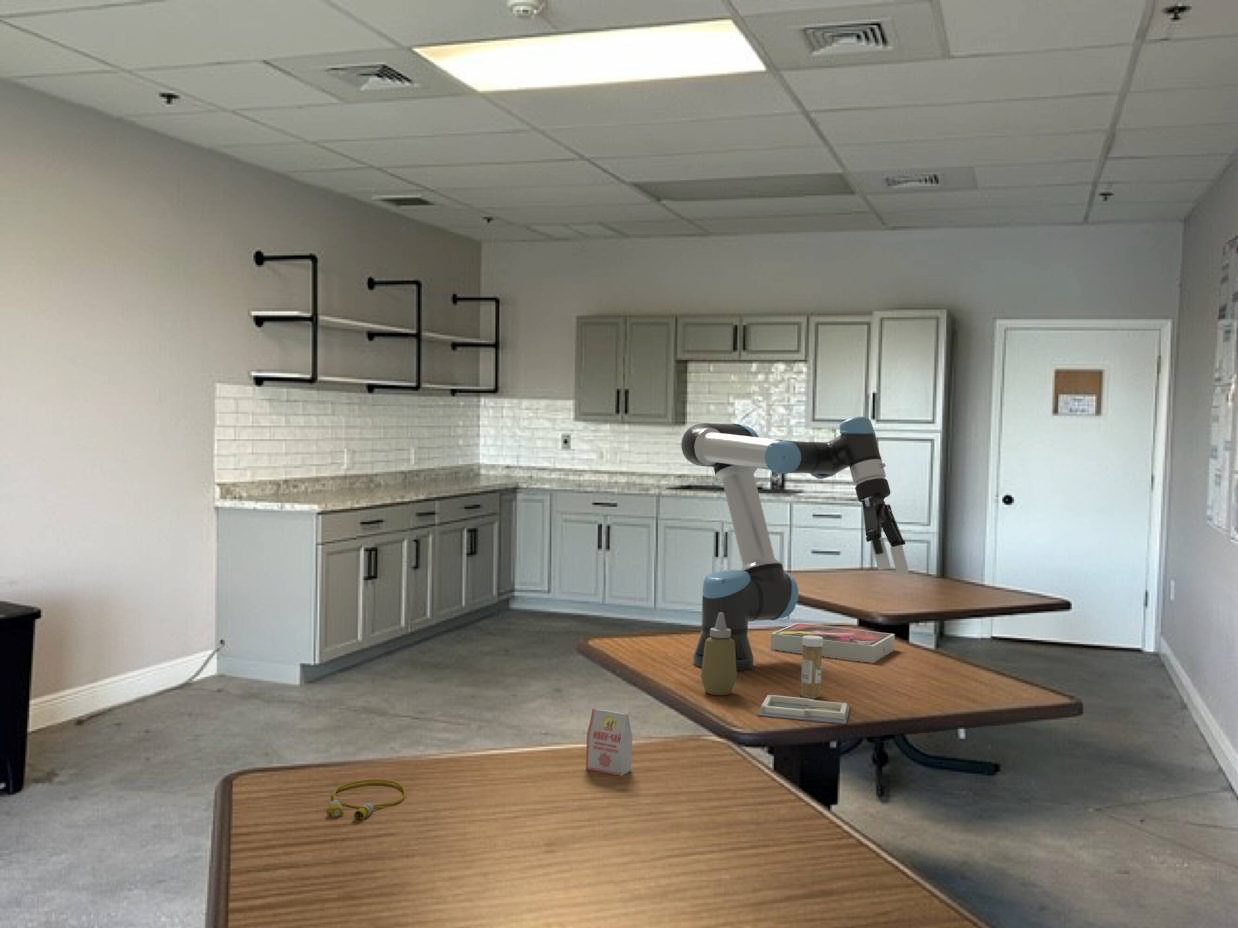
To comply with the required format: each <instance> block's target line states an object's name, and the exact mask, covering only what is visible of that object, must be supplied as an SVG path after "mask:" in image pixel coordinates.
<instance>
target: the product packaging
mask: <svg viewBox="0 0 1238 928" xmlns="http://www.w3.org/2000/svg"><path fill="white" fill-rule="evenodd" d="M808 635H812V636H820V637H822V638H823V646H822V656H824V657H823V658H827V657H830V659H835V658H837V660H842V659H843V661H850V660H851V661H852V662H857V661H860V662H859V663H864V662H869V663H868V664H872V663H873V662H875V663H876V662H877V660H878V661H879V660H881V659H882V657H883V658H884V657H886V656H888V655H889V654H890V652H891V653H892V652H894V651H895V641H896V640H895V635H896V634H894V633H888V632H879V631H872V630H871V631H870V630H861V629H854V628H844V627H837V626H829V625H821V624H819V625H818V624H811V623H805V622H804V623H803V622H796V623H793V624H791V625H788V626H786V627H783V628H781V629H779V630H776V631H774V632H771V633H770V648H769V649H772V650H771V651H775V650H778V651H777V652H782V651H785V653H790V652H792V653H791V654H797V653H798V655H803V645H802V638H803V636H808ZM893 650H894V651H893ZM885 655H886V656H885ZM880 658H881V659H880ZM873 664H874V663H873Z"/></svg>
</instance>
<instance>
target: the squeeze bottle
mask: <svg viewBox="0 0 1238 928" xmlns="http://www.w3.org/2000/svg"><path fill="white" fill-rule="evenodd" d="M710 636H711V637H709V638H708V639H706V641H705V649H704V656H703V663H702V667H701V672H700V677H701V681H702V685H703V689H704V692H705V693H707V694H709V695H713V696H727V695H731V694H732V692H733V689H734V687H735V684H736V681H737V678H738V673H737V672H738V671H736V655H735V641H734V640H733V639H731V638H729V637H731V630H730V629H728V628H726V623H725V617H724V613H718V617H717V621H716V625H715V628H711V629H710Z"/></svg>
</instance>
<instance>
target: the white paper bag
mask: <svg viewBox="0 0 1238 928" xmlns="http://www.w3.org/2000/svg"><path fill="white" fill-rule="evenodd" d="M629 717H630V715H629V713H622V712H617V711H611V710H605V709H600V708H599V709H597V708H592V709H591V715H590V719H589V720H590V722H589V725H588V730H587V733H586V753H585V756H586V757H585V770H589V771H594V772H599V773H603V774H608V775H613V776H619V777H622V776H624V775H626V774H628V773H629V772H631V771H632V758H633V757H632V752H633V734H632V729H631V723H630V718H629Z"/></svg>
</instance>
